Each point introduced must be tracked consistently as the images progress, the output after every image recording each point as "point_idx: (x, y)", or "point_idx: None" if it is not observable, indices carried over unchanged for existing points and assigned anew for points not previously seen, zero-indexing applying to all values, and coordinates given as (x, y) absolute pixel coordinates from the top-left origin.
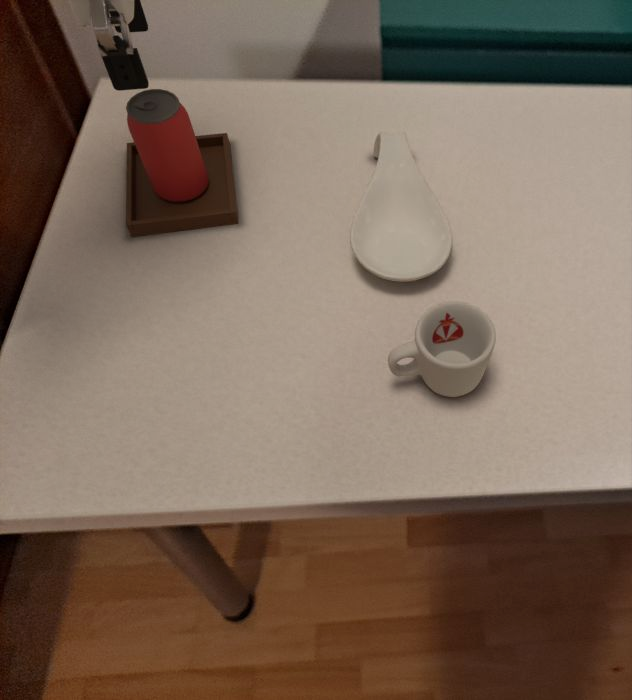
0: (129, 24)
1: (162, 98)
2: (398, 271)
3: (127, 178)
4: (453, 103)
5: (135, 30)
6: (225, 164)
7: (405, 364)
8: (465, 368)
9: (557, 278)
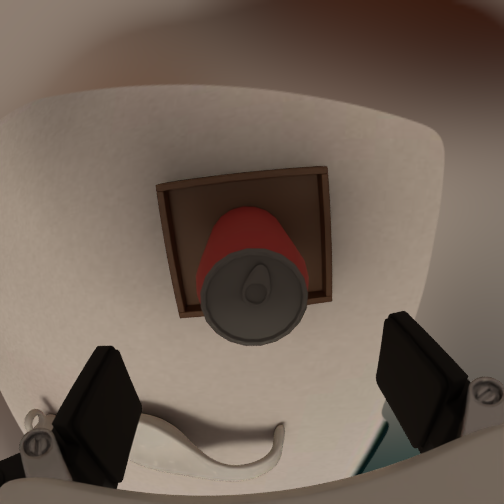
0: (389, 364)
1: (280, 312)
2: None
3: (249, 174)
4: (341, 459)
5: (381, 360)
6: None
7: (42, 416)
8: None
9: (149, 483)
